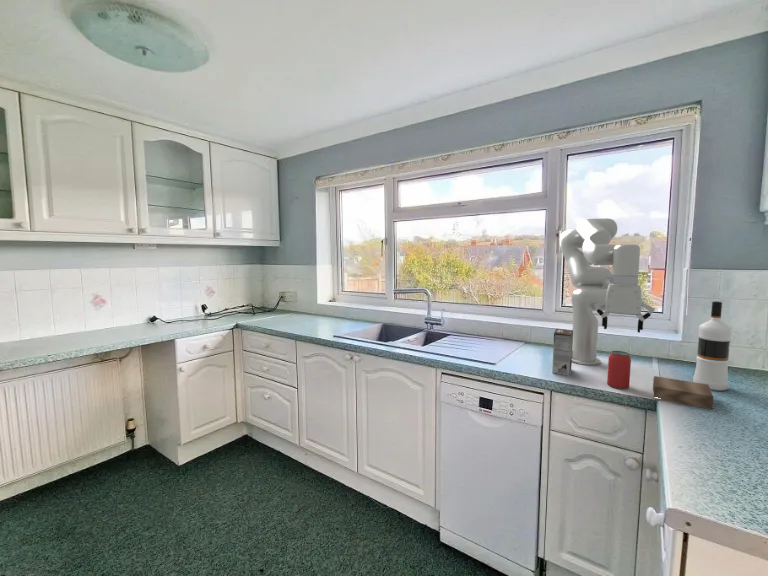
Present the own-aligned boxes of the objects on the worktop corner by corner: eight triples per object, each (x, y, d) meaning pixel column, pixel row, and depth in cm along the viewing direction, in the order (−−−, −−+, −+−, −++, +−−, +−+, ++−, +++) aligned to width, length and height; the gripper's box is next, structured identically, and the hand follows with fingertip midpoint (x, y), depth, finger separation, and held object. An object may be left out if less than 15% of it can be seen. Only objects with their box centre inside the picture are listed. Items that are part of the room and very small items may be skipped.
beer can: (608, 381, 131) (610, 349, 129) (630, 385, 126) (632, 352, 125) (605, 386, 126) (607, 353, 124) (628, 391, 121) (630, 356, 120)
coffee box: (554, 366, 148) (555, 328, 146) (571, 369, 144) (573, 329, 143) (551, 373, 140) (553, 332, 138) (570, 376, 136) (572, 334, 135)
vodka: (685, 381, 130) (692, 299, 127) (712, 381, 130) (719, 299, 126) (707, 391, 121) (714, 303, 118) (736, 391, 120) (744, 303, 117)
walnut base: (653, 398, 115) (654, 386, 115) (653, 387, 125) (654, 375, 125) (712, 409, 107) (713, 396, 107) (706, 396, 117) (707, 384, 116)
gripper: (594, 280, 124) (591, 329, 126) (656, 282, 114) (653, 335, 116) (596, 279, 130) (594, 325, 132) (656, 281, 120) (652, 331, 122)
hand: (621, 330), depth 124 cm, fingers open, 9 cm apart
